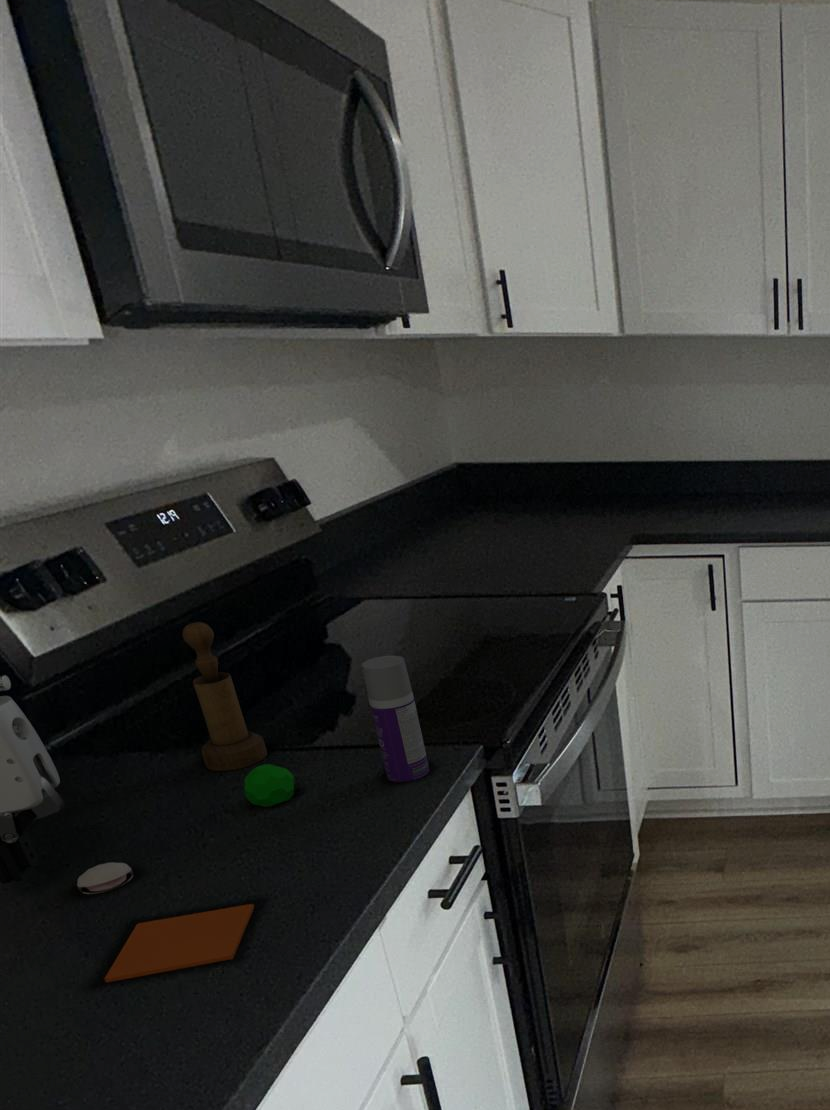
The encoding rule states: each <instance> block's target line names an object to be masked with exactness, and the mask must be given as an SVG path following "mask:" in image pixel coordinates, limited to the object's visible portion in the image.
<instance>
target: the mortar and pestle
mask: <svg viewBox="0 0 830 1110" xmlns="http://www.w3.org/2000/svg"><path fill="white" fill-rule="evenodd" d="M181 634H182V638H183V640H184V643H186V644H187V645H188V646H189V647H190V648H192V650H194V651H195V654H196V659H195V660H194V664H195V666H196V668H197V669H198V671H199V672H200V674H201V675H200V676H198V677H196V678H195V679H193V680H192V683H193V687H194V690H195V693H196V696H197V699H198V701H199V705H200V708H201V711H202V715H203V718H204V720H205V724H206V727H207V731H208V734H209V737H210V739H208V740H207V741H206V742H205V744H204V745H202V748H201V750H200V751H201V755H202V759H203V761H204V765H205V767H206V769H208V770H210V771H214V772H228V771H234V770H241V769H245V768H248V767H251V766H254V765H256V764H258V763H260V762H262V761H264V759H265V758H266V757H267V756H268V750H267V747H266V743H265V741H264V738H263V736H261V735H260V734H257V733H255V732H253V731H249V730H248V728H247V725H246V722H245V719H244V716H243V711H242V709H241V706H240V703H239V698H238V695H237V693H236V689H235V685H234V682H233V679H232V676H231V674H230V673H229V672H224V671H221V672H220V671H219V660H218V657H217V656H214V655H213V654H212V652H211V648H212V645H213V642H214V638H215V634H214V631H213V629H212V627H210V626H209V624H207V623H206V622H201V621H195V622H191V623H189V624H187V625H185V627H184V628H183V629H182V633H181Z"/></svg>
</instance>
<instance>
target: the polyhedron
mask: <svg viewBox="0 0 830 1110" xmlns="http://www.w3.org/2000/svg"><path fill="white" fill-rule="evenodd" d="M244 795H245V798H246V799H247V800H248V801H249V802H250V803H251V804H253V805H256V806H259V807H263V808H267V807H273V806H276V805H279V804H282V803H285V802H287V801H289V800H291V798H293V796H294V795H295V779H294V775H293V773H291V771H289V770H288V768H285V767H281V766H277V765H274V764H270V763H265V764H262V765H259V766H256V767H255V768H253V769H252V770H250V771H249V773H248V774H247V775H246V776H245V777H244Z"/></svg>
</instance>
